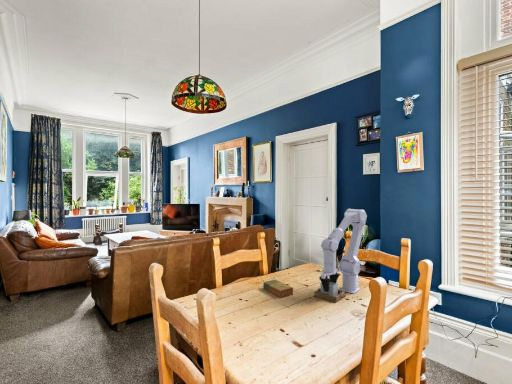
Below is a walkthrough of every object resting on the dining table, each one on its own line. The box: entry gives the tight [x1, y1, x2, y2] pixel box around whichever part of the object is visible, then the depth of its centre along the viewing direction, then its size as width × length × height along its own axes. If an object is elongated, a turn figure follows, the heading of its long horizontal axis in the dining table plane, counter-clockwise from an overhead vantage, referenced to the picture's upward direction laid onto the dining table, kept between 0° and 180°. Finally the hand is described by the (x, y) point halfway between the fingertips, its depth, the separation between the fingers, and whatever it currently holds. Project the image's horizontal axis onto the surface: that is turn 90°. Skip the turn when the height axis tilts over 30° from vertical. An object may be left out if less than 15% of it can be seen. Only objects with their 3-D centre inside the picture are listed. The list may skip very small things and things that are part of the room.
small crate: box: [320, 282, 339, 297], centre depth 139 cm, size 5×7×6 cm
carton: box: [262, 279, 294, 299], centre depth 146 cm, size 8×16×4 cm, turn 32°
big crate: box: [313, 287, 346, 303], centre depth 139 cm, size 10×12×2 cm
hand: (329, 289), depth 139 cm, fingers open, 7 cm apart
